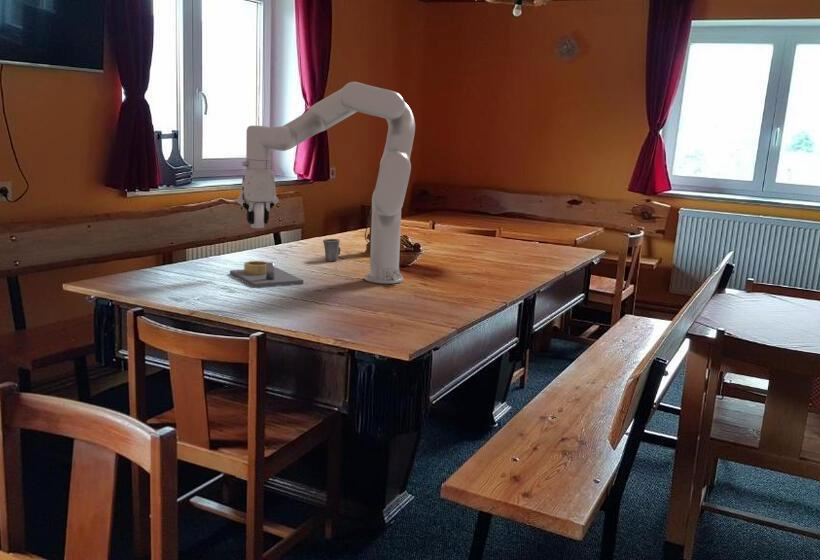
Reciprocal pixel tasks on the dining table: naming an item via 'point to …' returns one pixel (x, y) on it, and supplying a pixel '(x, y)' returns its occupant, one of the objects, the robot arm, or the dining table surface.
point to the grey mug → (331, 249)
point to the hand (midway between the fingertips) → (257, 222)
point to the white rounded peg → (258, 215)
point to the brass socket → (255, 267)
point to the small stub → (270, 271)
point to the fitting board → (261, 280)
